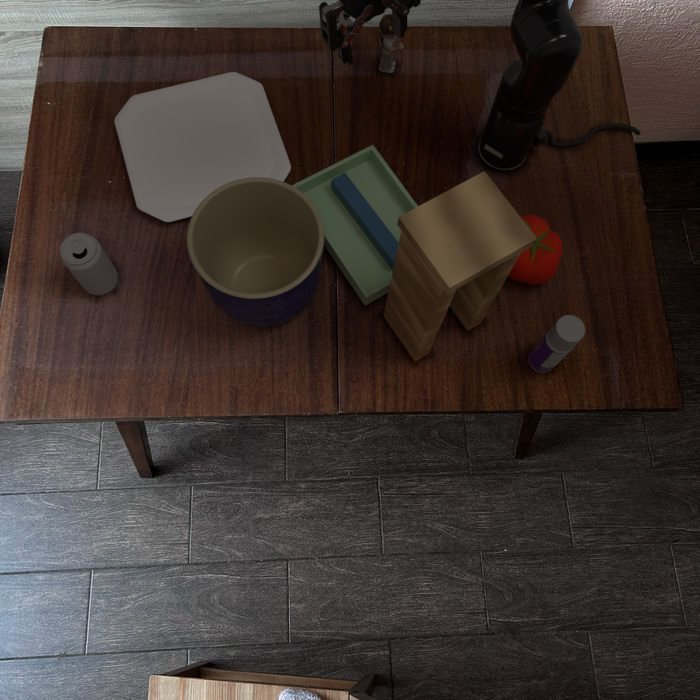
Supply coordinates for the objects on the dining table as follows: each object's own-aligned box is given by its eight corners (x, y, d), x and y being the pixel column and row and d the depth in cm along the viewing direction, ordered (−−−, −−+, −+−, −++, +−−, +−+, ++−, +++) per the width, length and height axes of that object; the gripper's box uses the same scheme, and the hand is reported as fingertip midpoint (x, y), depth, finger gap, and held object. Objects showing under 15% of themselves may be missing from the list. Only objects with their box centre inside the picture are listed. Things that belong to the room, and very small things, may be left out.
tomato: (474, 243, 127) (485, 219, 119) (535, 222, 128) (549, 198, 120) (504, 303, 123) (517, 282, 115) (566, 281, 125) (583, 259, 117)
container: (525, 348, 120) (552, 315, 106) (552, 346, 120) (582, 313, 106) (530, 374, 118) (558, 343, 104) (557, 372, 119) (588, 341, 105)
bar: (344, 181, 129) (345, 172, 127) (406, 262, 124) (408, 254, 121) (331, 188, 129) (331, 179, 126) (392, 270, 123) (394, 263, 121)
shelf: (445, 273, 124) (484, 170, 94) (484, 327, 121) (537, 238, 91) (380, 310, 121) (398, 216, 91) (417, 366, 118) (449, 288, 88)
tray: (371, 156, 132) (373, 144, 129) (447, 259, 125) (450, 250, 122) (291, 196, 129) (290, 185, 125) (364, 305, 122) (365, 297, 118)
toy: (399, 81, 138) (407, 23, 124) (372, 76, 138) (377, 17, 124) (404, 57, 140) (413, -3, 126) (377, 52, 141) (383, -9, 126)
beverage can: (90, 303, 120) (65, 272, 109) (77, 273, 122) (51, 240, 111) (125, 287, 121) (104, 256, 110) (111, 258, 123) (90, 224, 112)
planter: (191, 257, 124) (168, 200, 106) (300, 221, 127) (296, 159, 109) (228, 360, 117) (211, 317, 100) (341, 319, 121) (344, 271, 103)
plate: (256, 73, 138) (255, 65, 136) (299, 193, 129) (298, 186, 127) (111, 107, 134) (108, 100, 132) (145, 234, 125) (142, 228, 123)
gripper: (331, -8, 81) (343, 88, 96) (433, -62, 83) (430, 41, 98) (300, -47, 84) (316, 52, 99) (400, -98, 85) (401, 7, 100)
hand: (373, 47), depth 98 cm, fingers open, 8 cm apart
